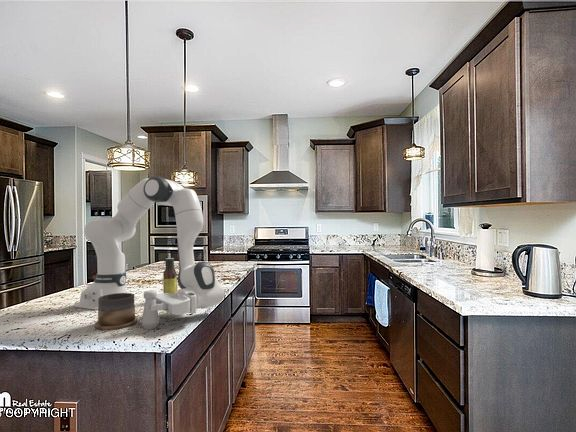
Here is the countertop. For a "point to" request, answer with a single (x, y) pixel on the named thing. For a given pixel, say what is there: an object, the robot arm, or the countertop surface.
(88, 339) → the countertop surface
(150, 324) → the salt shaker
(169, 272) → the sauce bottle
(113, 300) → the brown pot
